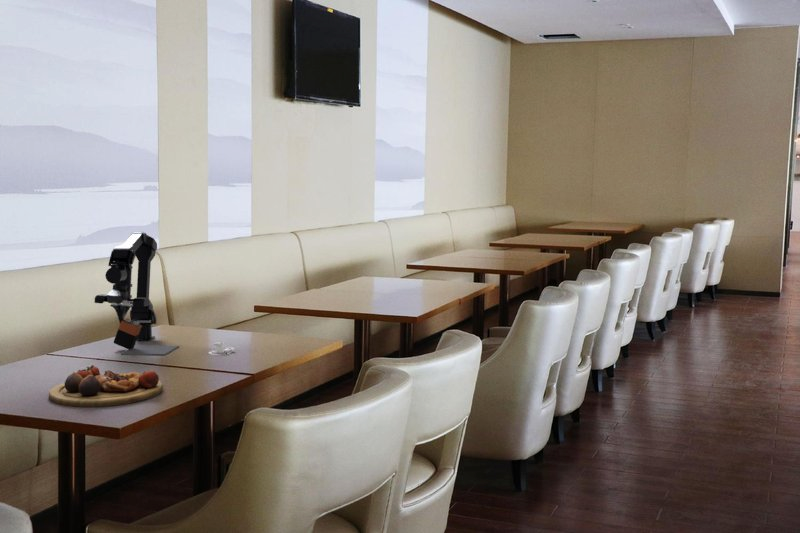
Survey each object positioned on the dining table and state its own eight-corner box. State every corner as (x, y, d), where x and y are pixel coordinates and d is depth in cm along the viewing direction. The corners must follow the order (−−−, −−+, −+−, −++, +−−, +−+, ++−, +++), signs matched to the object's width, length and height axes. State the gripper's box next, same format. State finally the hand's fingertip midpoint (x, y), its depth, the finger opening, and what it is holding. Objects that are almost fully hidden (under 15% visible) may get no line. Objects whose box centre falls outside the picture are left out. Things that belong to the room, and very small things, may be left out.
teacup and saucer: (235, 352, 328) (235, 341, 327) (229, 356, 320) (229, 345, 320) (212, 351, 329) (212, 340, 328) (205, 355, 321) (205, 344, 320)
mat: (137, 346, 336) (137, 344, 336) (179, 346, 335) (179, 345, 335) (121, 354, 320) (121, 353, 320) (164, 355, 319) (164, 354, 319)
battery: (129, 350, 326) (138, 325, 325) (112, 343, 326) (121, 318, 325) (134, 347, 330) (143, 323, 329) (117, 340, 330) (126, 316, 329)
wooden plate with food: (182, 385, 276) (182, 359, 275) (124, 412, 245) (123, 382, 244) (92, 379, 284) (91, 353, 283) (25, 404, 254) (23, 375, 253)
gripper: (88, 281, 319) (86, 324, 320) (139, 285, 317) (136, 328, 318) (102, 279, 330) (100, 320, 331) (150, 282, 329) (148, 324, 329)
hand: (121, 323), depth 327 cm, fingers closed, pressing on battery
